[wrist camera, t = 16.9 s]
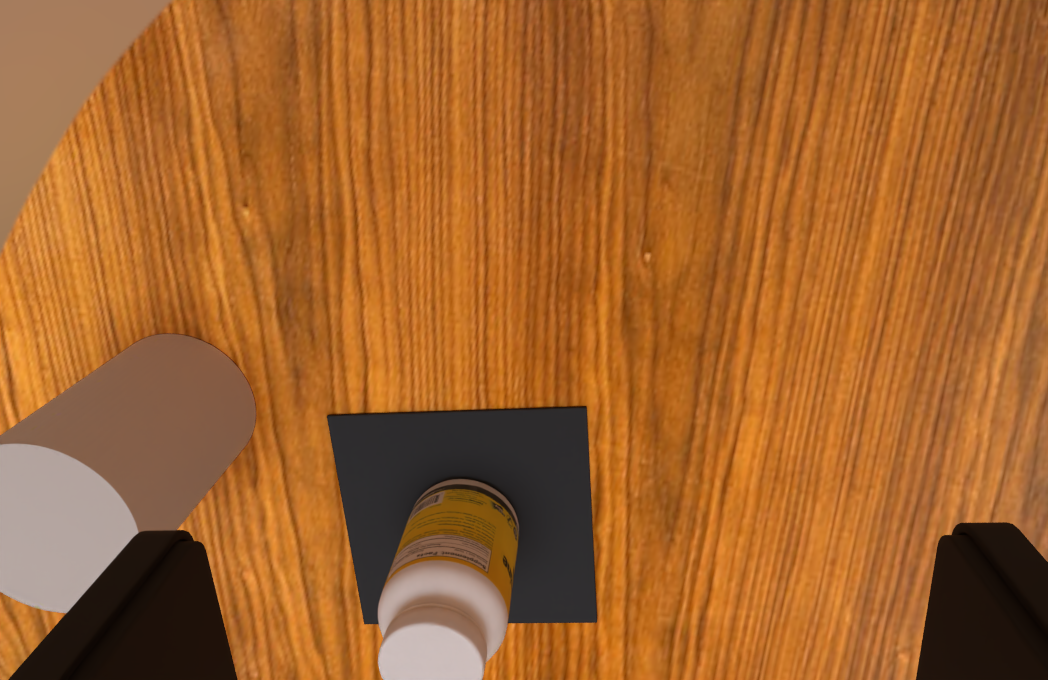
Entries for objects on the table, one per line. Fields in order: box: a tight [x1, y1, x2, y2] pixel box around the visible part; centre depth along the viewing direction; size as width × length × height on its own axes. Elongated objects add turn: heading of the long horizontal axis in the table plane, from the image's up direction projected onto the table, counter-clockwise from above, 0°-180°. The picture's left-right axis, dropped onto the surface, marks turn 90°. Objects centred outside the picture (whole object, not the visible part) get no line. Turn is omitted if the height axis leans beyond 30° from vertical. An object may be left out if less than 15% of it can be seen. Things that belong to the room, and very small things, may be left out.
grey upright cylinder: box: [0, 334, 256, 613], centre depth 38 cm, size 8×8×12 cm
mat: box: [327, 406, 597, 624], centre depth 45 cm, size 14×14×1 cm
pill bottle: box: [378, 479, 519, 680], centre depth 39 cm, size 6×6×11 cm
